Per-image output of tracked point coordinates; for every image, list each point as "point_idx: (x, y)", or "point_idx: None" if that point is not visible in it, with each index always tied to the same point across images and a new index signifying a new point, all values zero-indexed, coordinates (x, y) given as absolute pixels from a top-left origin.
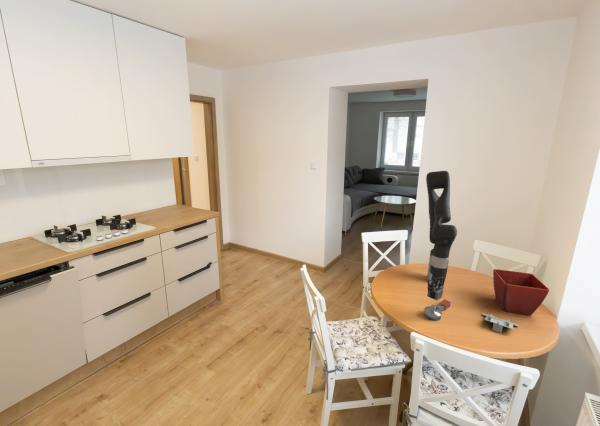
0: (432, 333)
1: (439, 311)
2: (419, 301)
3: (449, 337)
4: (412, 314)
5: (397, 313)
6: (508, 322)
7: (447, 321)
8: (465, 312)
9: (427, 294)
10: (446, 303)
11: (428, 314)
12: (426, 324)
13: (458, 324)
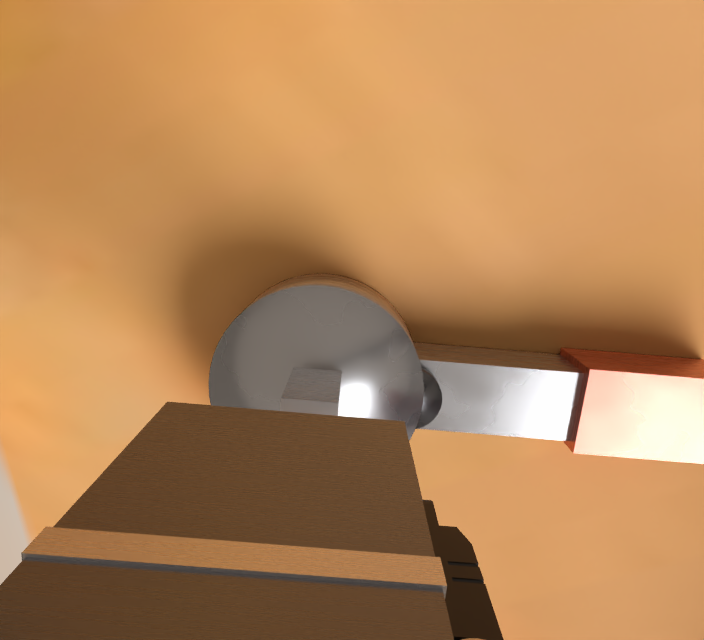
0: (27, 485)
1: None
2: (548, 103)
3: None
4: (169, 187)
5: (27, 30)
6: None
7: None
8: (667, 579)
9: (150, 424)
10: (647, 441)
11: (211, 376)
12: (117, 387)
13: None
